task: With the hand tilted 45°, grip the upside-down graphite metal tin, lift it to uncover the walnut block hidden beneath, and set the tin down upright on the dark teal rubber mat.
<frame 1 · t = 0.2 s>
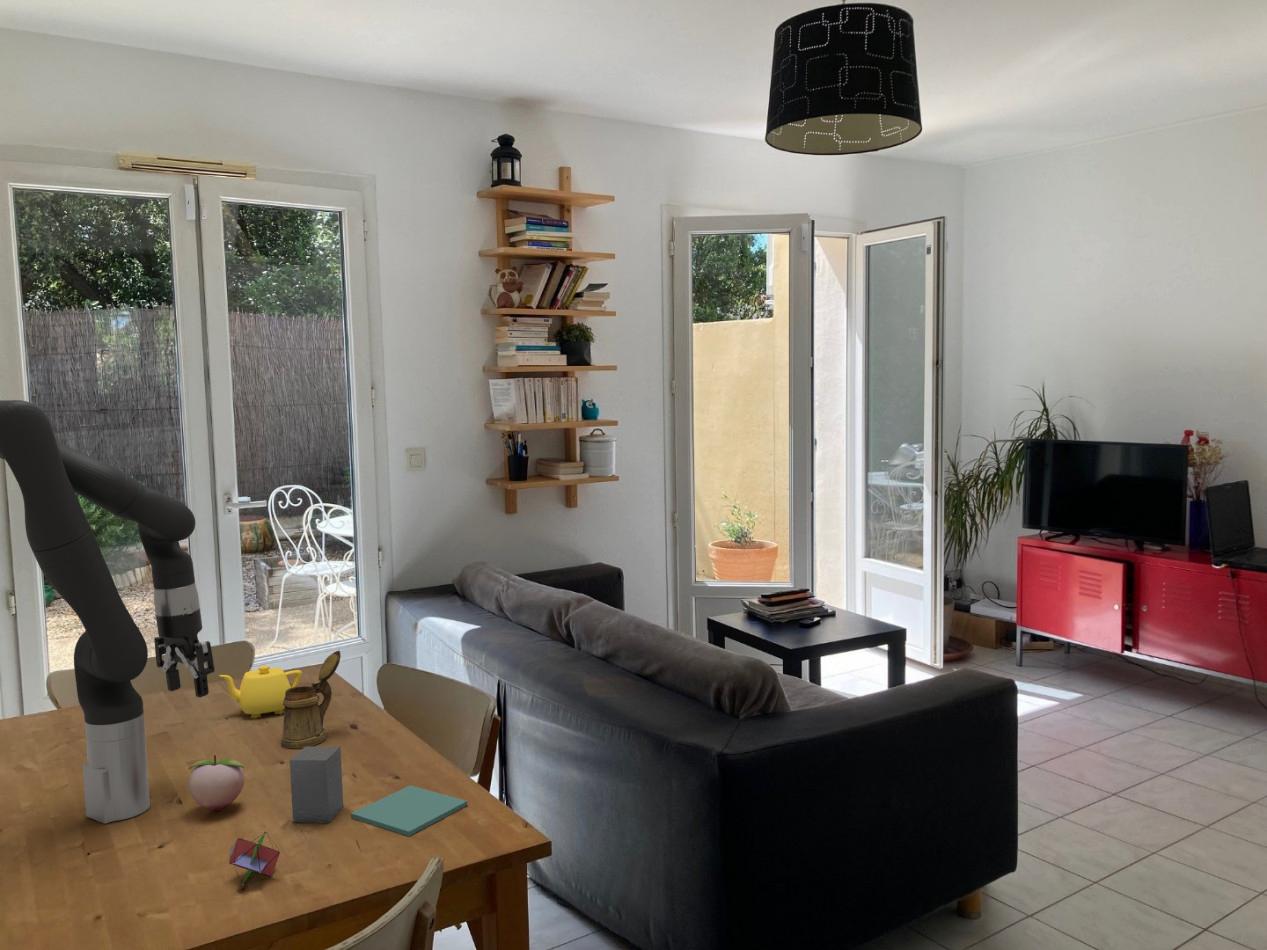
hand: (188, 692, 186), 18 cm above the table, tool pointing down, fingers open, 8 cm apart
wooden mug: (313, 739, 212), on the table
geometric puzzle: (255, 879, 151), on the table
walnut block: (318, 815, 173), on the table
teal mat: (409, 811, 174), on the table
decorative fruit: (218, 811, 176), on the table
teapot: (263, 713, 230), on the table
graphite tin: (318, 814, 173), on the table
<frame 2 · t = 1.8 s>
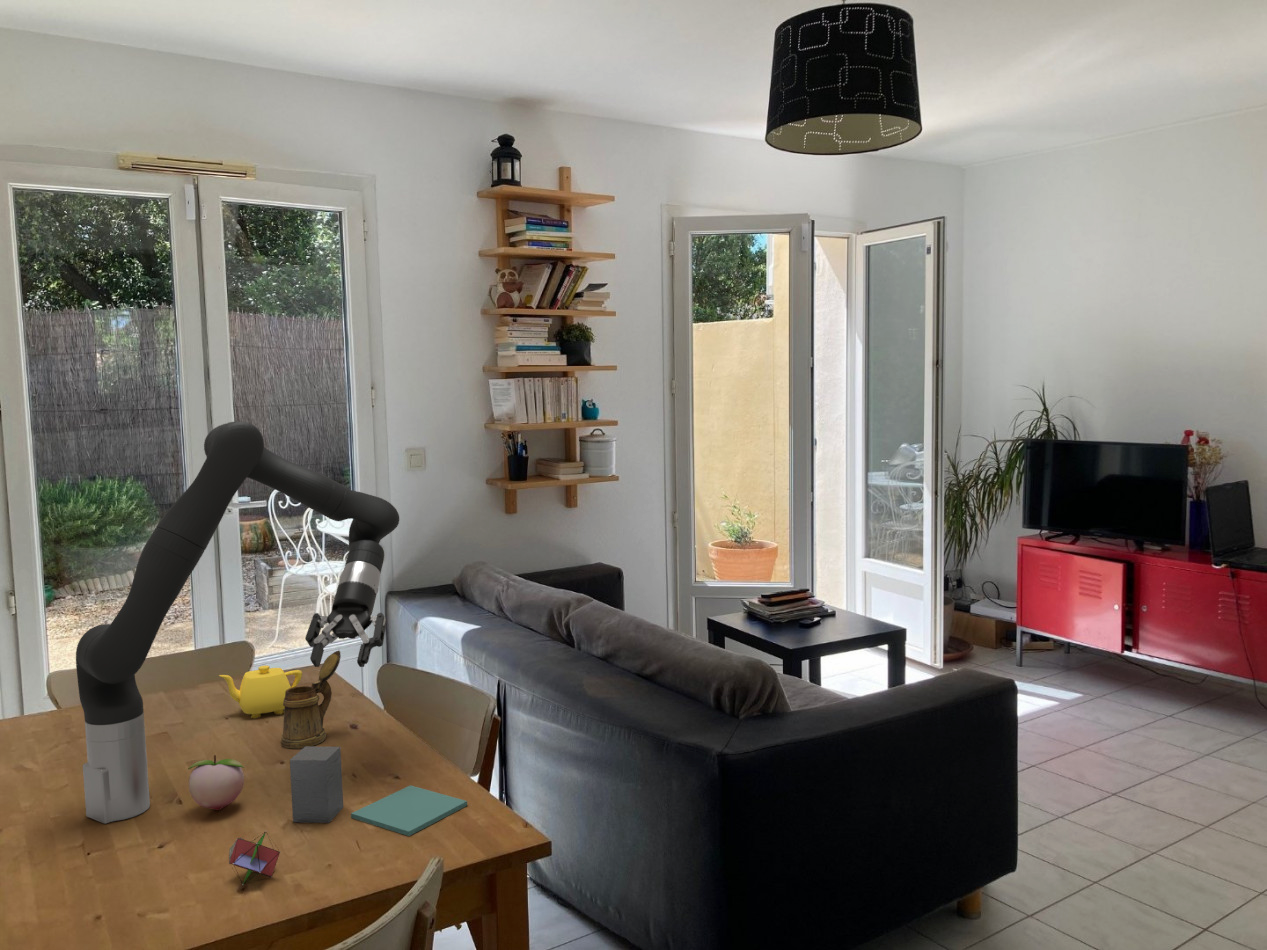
hand: (337, 664, 183), 23 cm above the table, tool tilted 45°, fingers open, 8 cm apart
nothing on the table moved.
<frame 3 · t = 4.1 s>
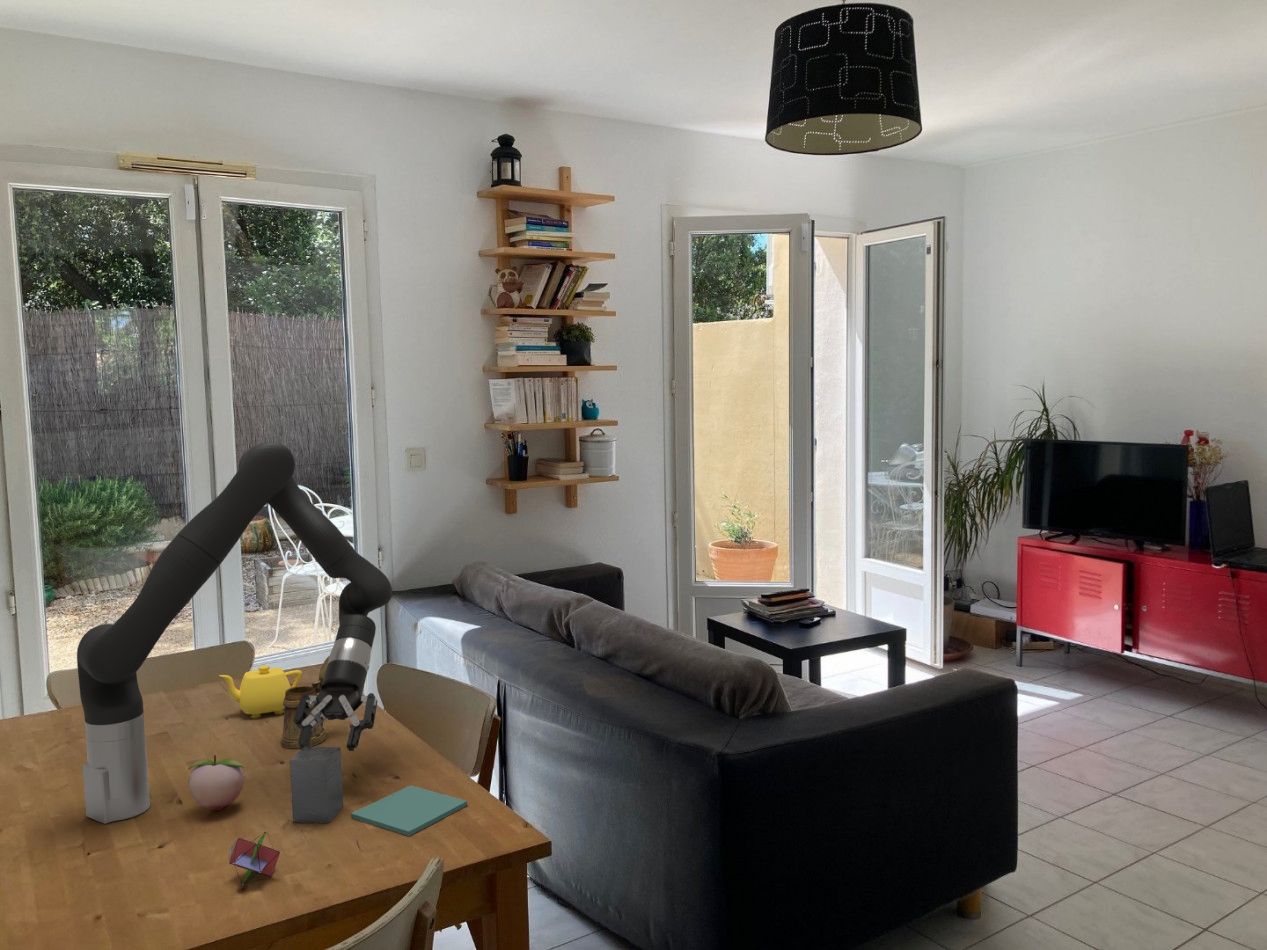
hand: (326, 749, 177), 10 cm above the table, tool tilted 45°, fingers open, 8 cm apart
nothing on the table moved.
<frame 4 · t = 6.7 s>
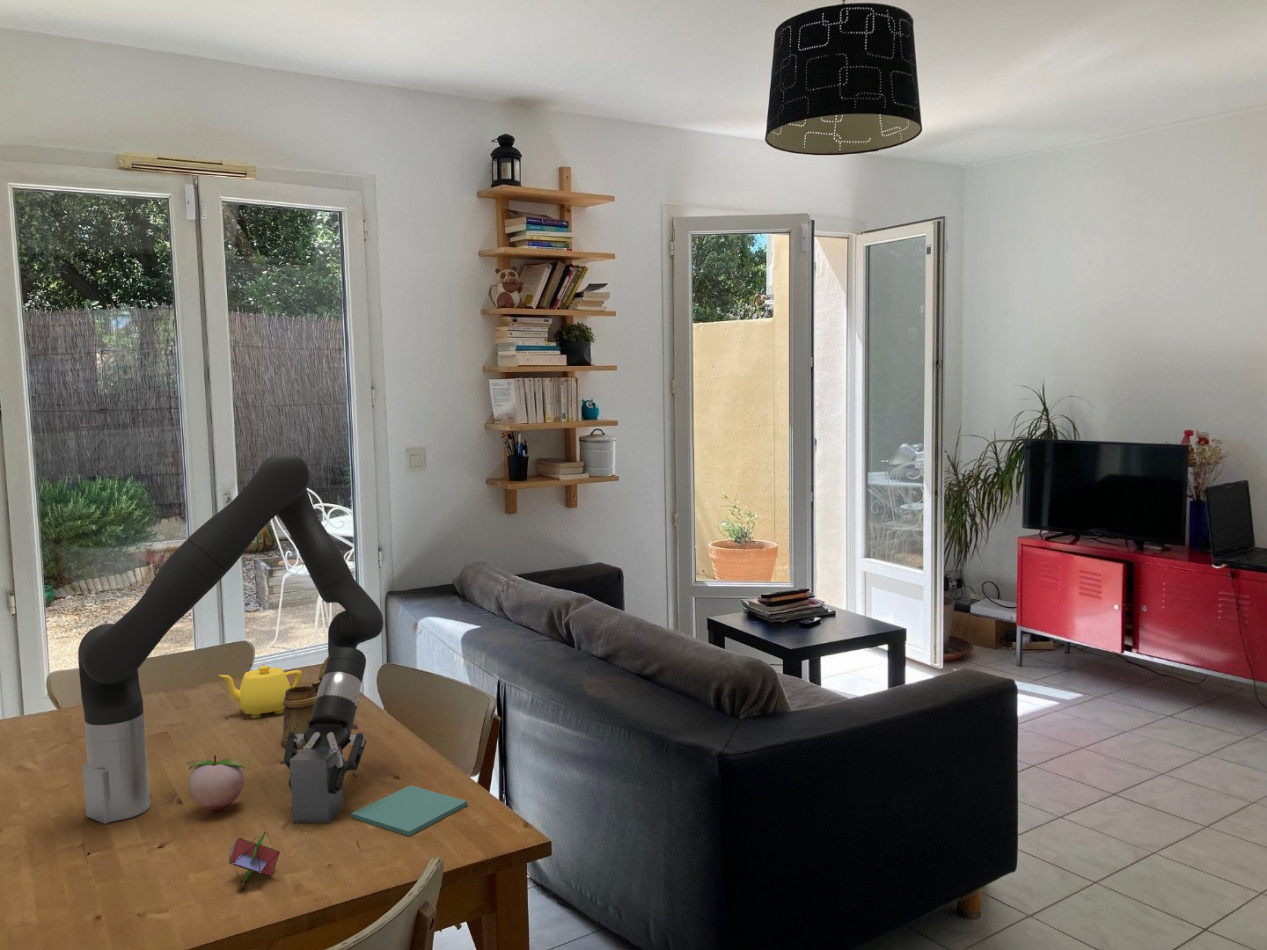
hand: (313, 791, 171), 5 cm above the table, tool tilted 45°, fingers closed on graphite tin, 6 cm apart
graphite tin: (318, 814, 173), on the table, touching gripper
everything else where it was.
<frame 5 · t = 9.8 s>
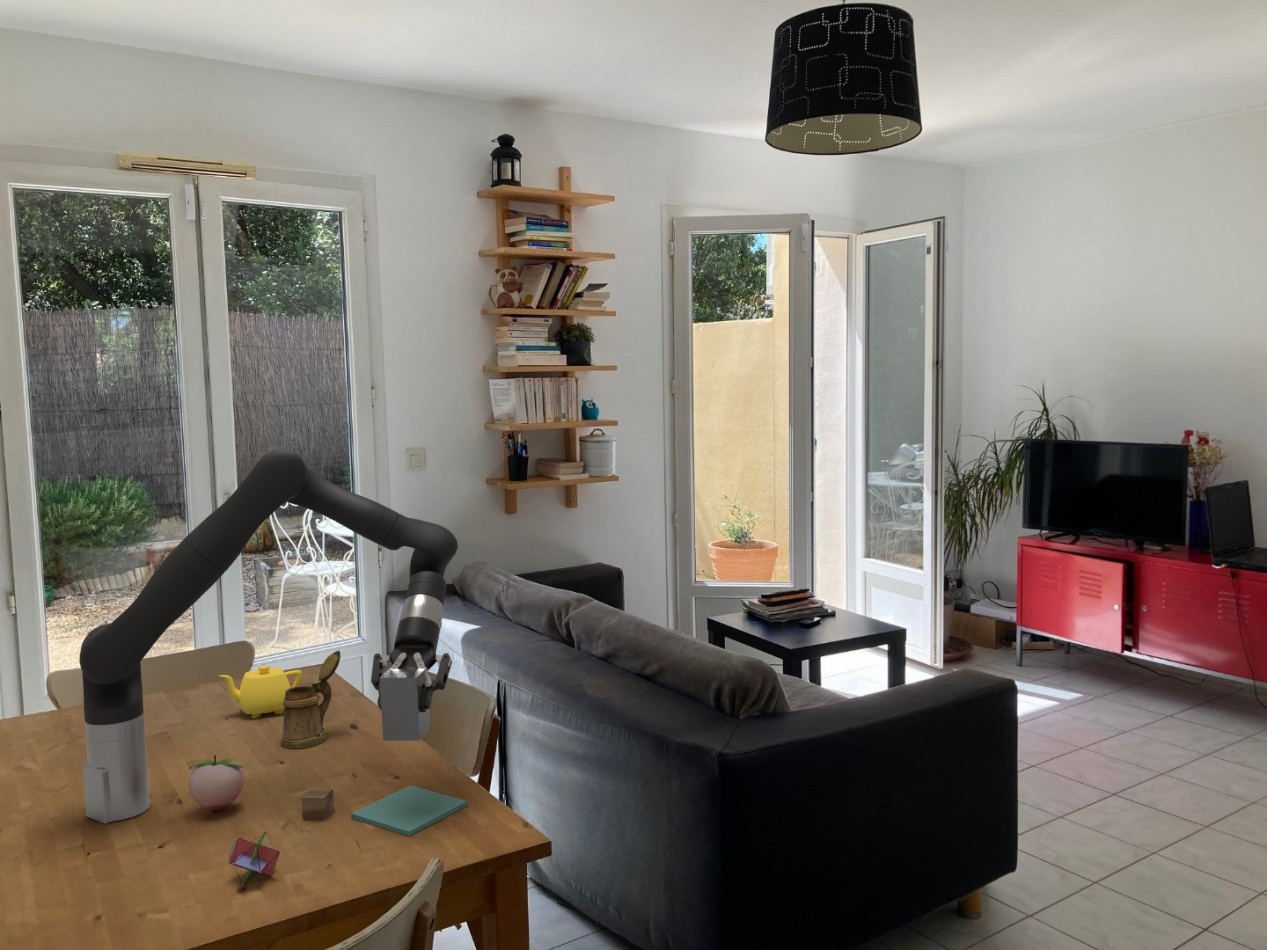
hand: (402, 709, 171), 19 cm above the table, tool tilted 45°, fingers closed on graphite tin, 6 cm apart
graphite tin: (407, 733, 173), point 14 cm above the table, touching gripper
everything else where it was.
when the fingers open (7 cm above the table, at t = 12.9 s): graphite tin drops 1 cm, resting on teal mat.
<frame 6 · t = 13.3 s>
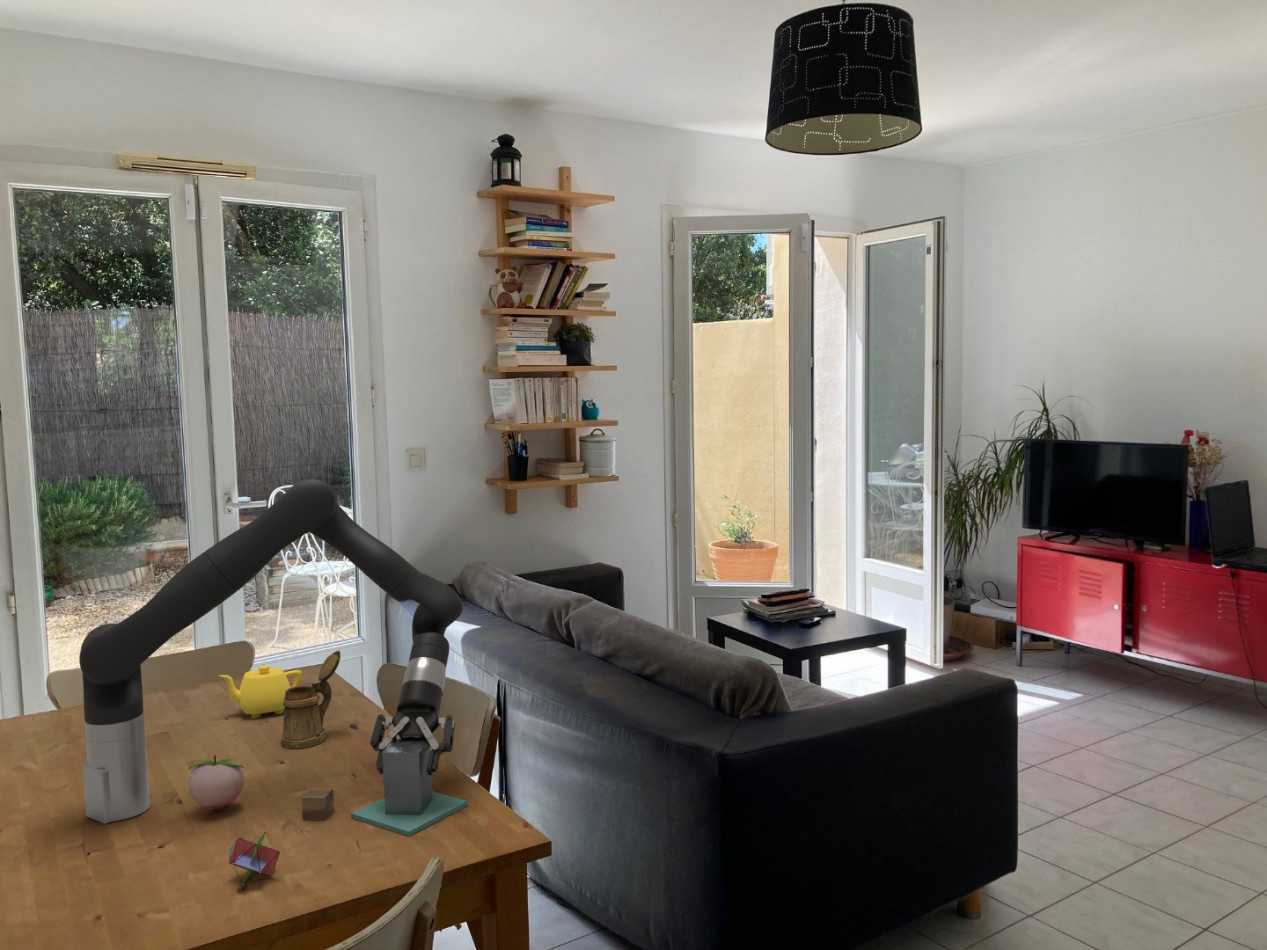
hand: (405, 773, 172), 7 cm above the table, tool tilted 45°, fingers open, 8 cm apart
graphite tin: (409, 806, 174), point 1 cm above the table, touching teal mat
everything else where it was.
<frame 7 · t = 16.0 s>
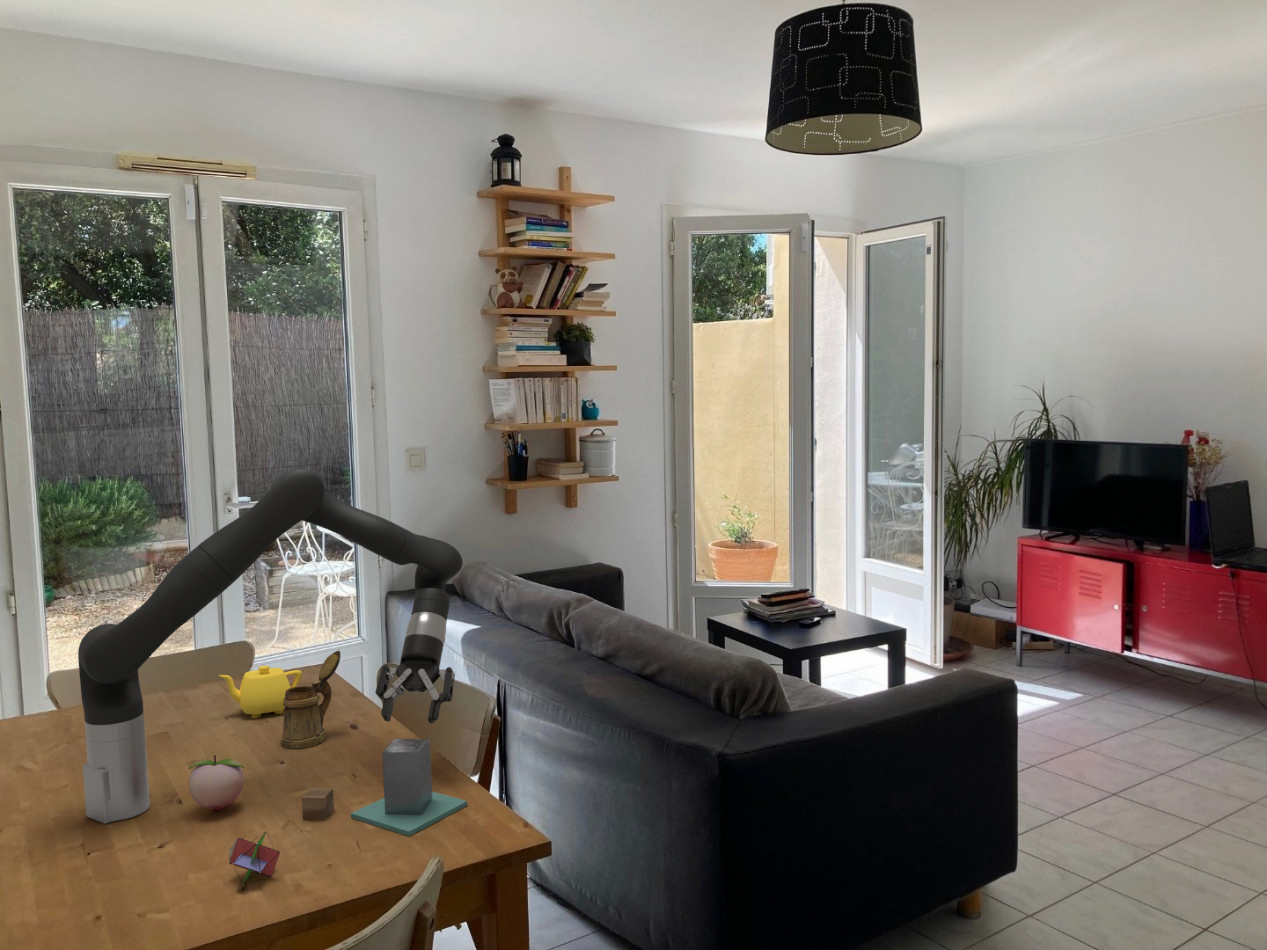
hand: (408, 721, 185), 12 cm above the table, tool tilted 40°, fingers open, 8 cm apart
nothing on the table moved.
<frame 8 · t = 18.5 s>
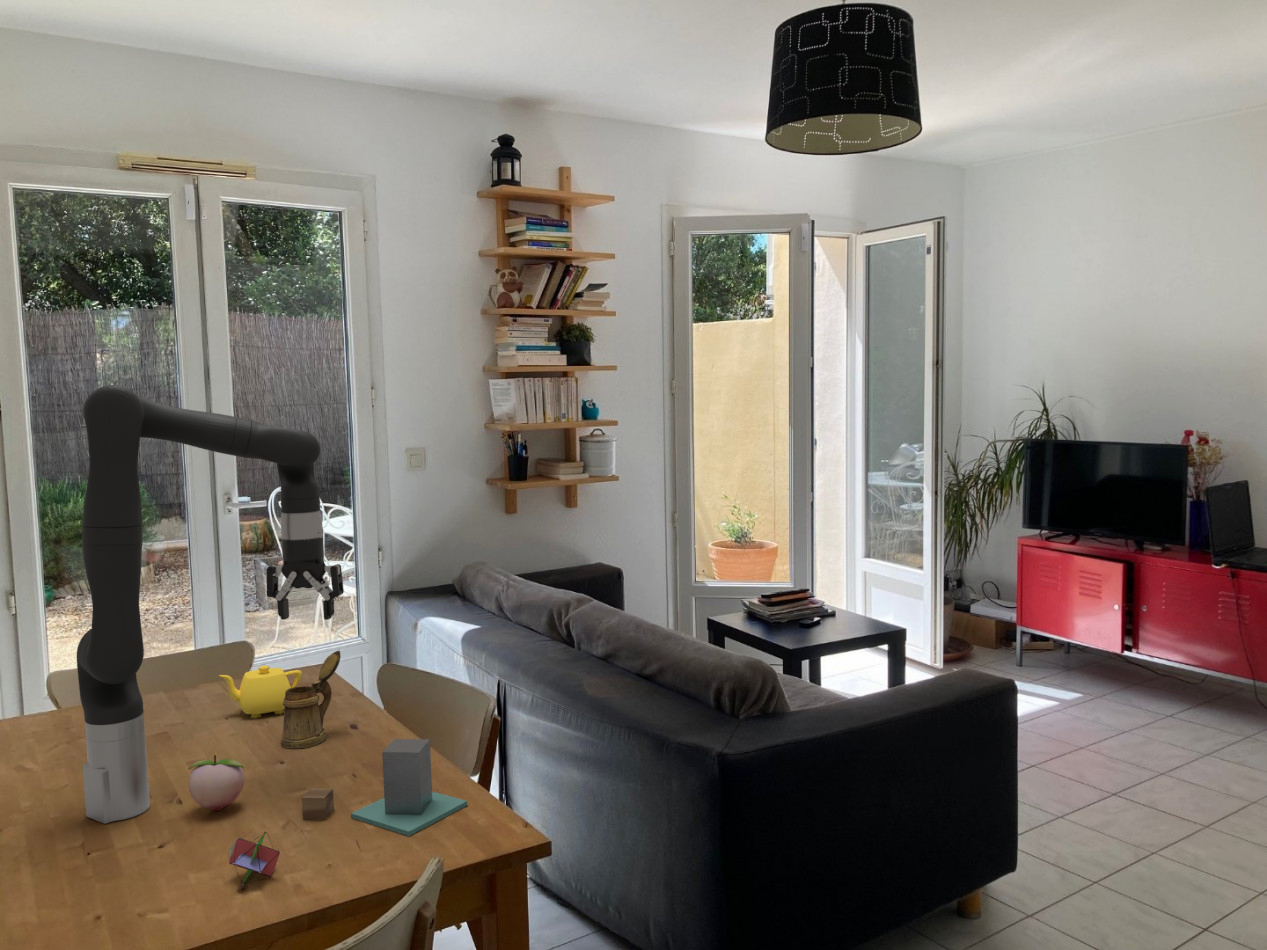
hand: (306, 618, 191), 30 cm above the table, tool pointing down, fingers open, 8 cm apart
nothing on the table moved.
at the end: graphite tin inside the target area on the teal mat (0.2 cm from its centre), point 0.8 cm above the teal mat's base; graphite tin tilted 0°; the gripper is holding nothing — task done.
